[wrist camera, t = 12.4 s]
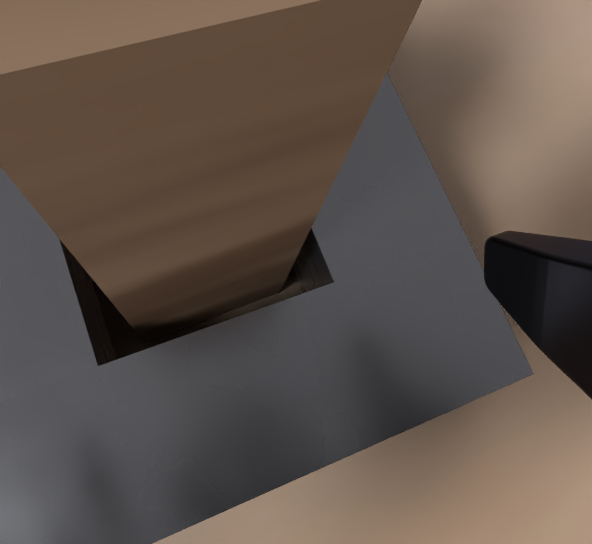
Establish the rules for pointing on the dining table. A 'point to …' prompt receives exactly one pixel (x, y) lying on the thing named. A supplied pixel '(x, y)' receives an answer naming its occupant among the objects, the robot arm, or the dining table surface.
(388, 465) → the dining table surface
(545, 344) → the robot arm
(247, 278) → the keyed plug
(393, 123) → the hub block
